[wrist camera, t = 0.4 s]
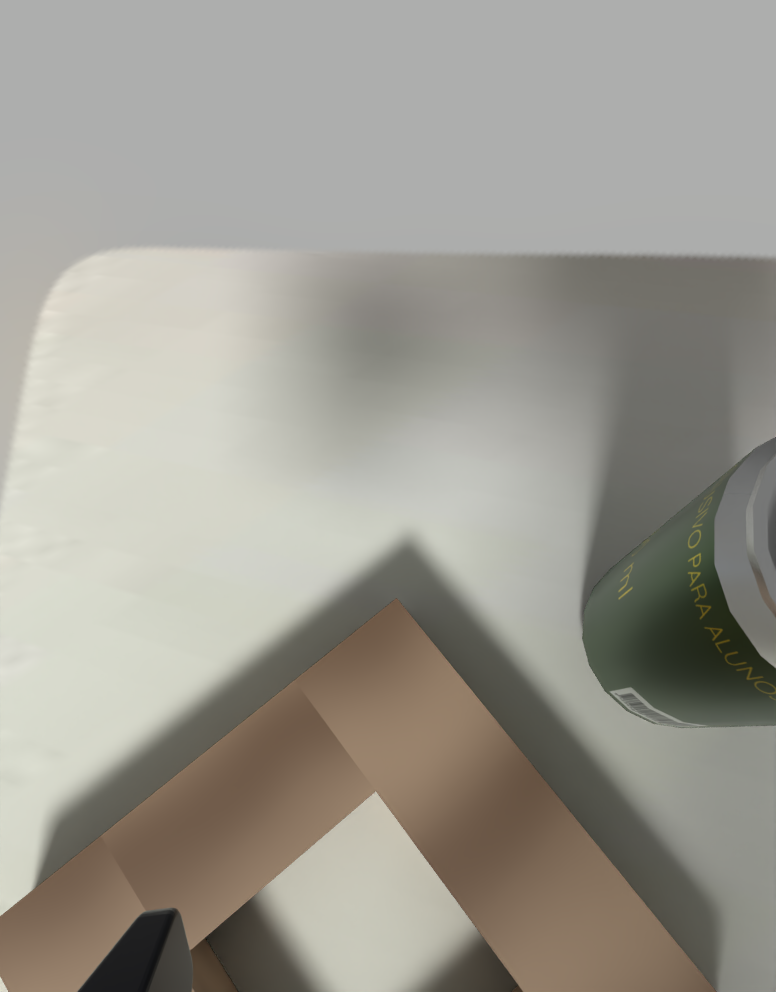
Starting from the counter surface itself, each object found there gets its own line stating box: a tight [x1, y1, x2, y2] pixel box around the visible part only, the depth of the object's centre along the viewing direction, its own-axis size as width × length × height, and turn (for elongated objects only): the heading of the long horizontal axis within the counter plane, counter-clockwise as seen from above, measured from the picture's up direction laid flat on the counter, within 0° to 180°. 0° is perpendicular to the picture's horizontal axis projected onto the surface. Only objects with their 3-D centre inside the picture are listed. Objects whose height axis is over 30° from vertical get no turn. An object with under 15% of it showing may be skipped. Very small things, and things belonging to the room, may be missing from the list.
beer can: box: [582, 437, 776, 728], centre depth 17 cm, size 5×5×12 cm
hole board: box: [0, 598, 716, 992], centre depth 19 cm, size 14×14×2 cm
